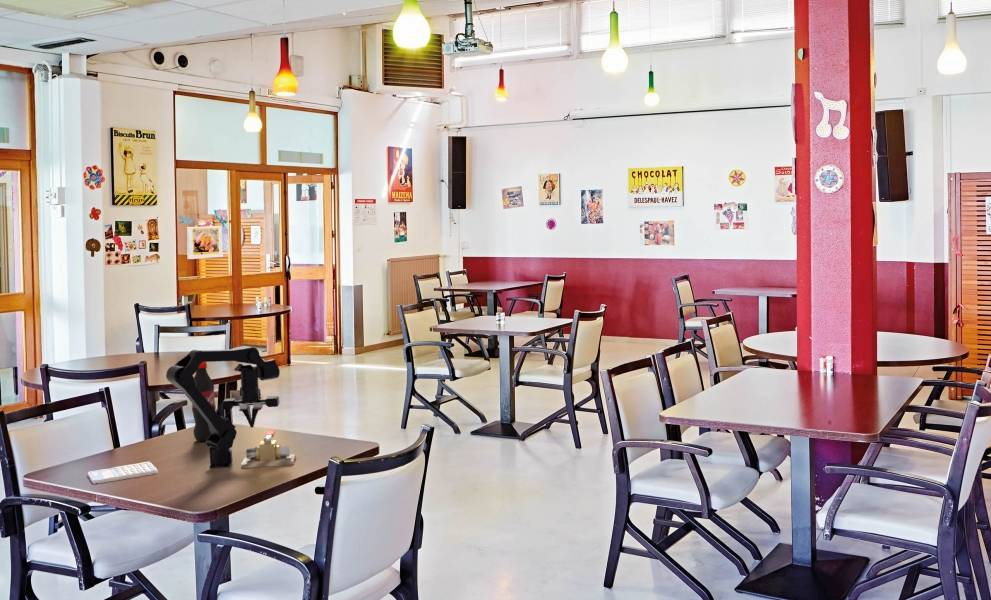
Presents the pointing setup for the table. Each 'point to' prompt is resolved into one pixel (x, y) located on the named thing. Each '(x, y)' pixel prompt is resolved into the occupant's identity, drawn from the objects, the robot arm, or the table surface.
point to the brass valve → (268, 452)
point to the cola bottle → (207, 390)
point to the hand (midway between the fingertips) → (252, 427)
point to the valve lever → (269, 436)
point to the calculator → (122, 472)
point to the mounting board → (268, 462)
